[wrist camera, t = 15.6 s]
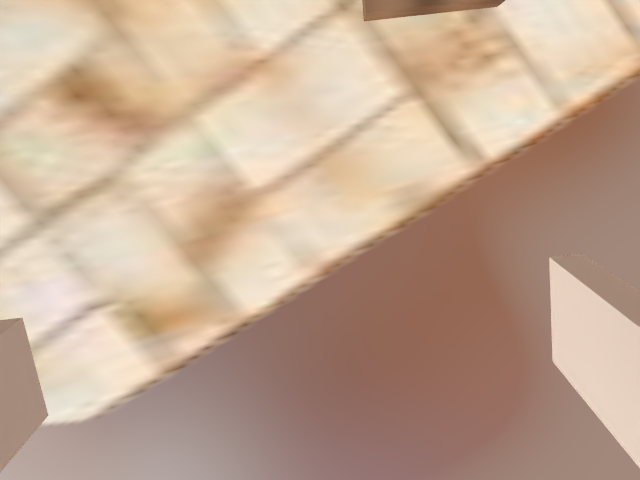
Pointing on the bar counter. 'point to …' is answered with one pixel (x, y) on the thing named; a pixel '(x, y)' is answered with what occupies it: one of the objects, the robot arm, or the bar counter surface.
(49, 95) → the bar counter surface
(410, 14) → the brown slab
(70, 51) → the bar counter surface
